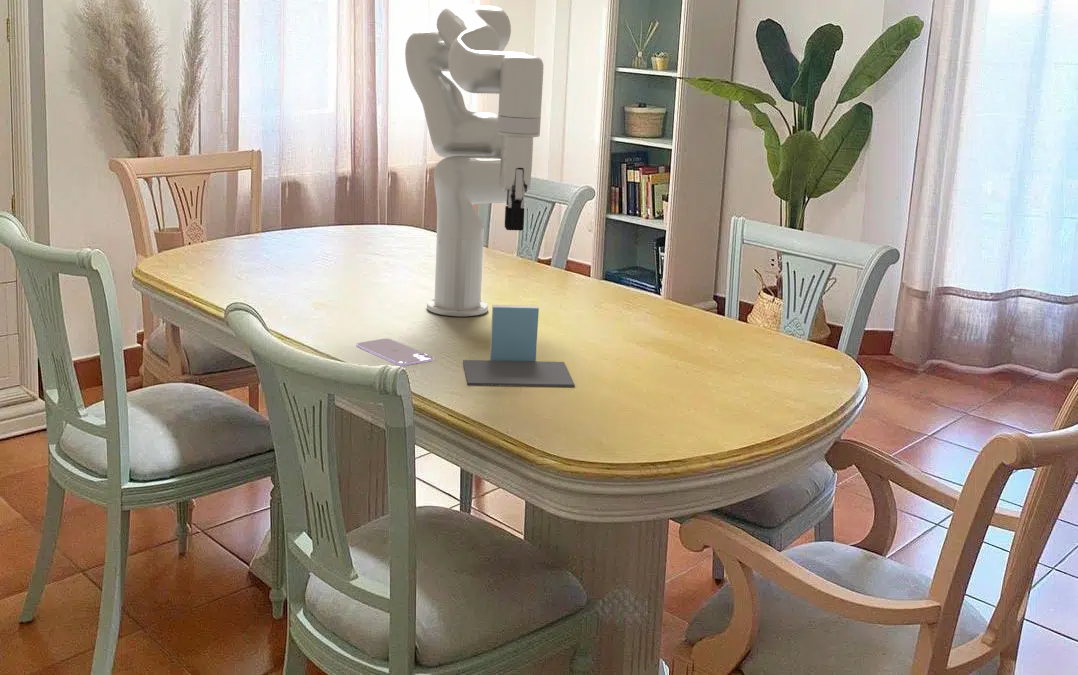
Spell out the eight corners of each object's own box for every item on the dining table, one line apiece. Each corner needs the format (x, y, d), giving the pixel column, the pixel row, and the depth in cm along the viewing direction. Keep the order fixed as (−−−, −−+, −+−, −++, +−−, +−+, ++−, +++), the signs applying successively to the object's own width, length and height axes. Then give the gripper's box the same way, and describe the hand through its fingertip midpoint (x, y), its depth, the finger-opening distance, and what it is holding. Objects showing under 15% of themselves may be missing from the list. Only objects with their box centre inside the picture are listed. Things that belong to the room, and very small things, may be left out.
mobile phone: (388, 336, 218) (436, 356, 207) (388, 341, 218) (436, 361, 208) (353, 342, 213) (400, 363, 202) (353, 347, 213) (400, 368, 203)
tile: (490, 358, 210) (492, 304, 207) (534, 359, 211) (537, 305, 208) (490, 362, 208) (493, 307, 206) (535, 362, 209) (538, 308, 207)
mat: (462, 362, 207) (463, 359, 207) (563, 364, 209) (563, 361, 209) (467, 385, 195) (467, 382, 195) (574, 386, 197) (574, 384, 197)
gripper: (494, 121, 215) (489, 220, 220) (501, 130, 200) (496, 236, 205) (534, 123, 216) (529, 222, 221) (545, 132, 201) (539, 237, 206)
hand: (513, 228), depth 213 cm, fingers closed
